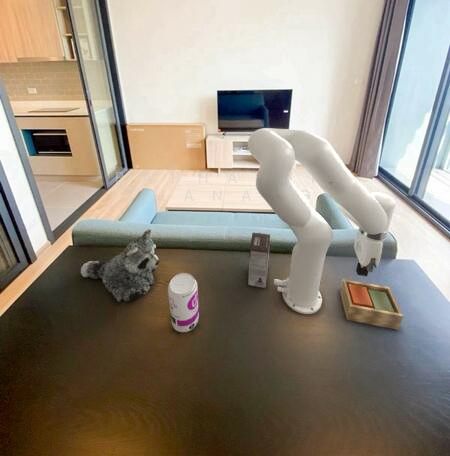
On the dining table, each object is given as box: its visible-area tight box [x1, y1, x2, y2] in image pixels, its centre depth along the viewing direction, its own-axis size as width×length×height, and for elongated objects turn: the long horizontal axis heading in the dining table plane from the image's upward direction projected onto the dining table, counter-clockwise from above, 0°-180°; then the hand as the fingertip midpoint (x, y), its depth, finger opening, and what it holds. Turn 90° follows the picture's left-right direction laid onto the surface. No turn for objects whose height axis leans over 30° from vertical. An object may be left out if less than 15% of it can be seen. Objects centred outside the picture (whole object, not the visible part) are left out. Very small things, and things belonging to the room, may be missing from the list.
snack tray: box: [339, 279, 404, 330], centre depth 76 cm, size 14×10×6 cm
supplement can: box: [167, 272, 200, 333], centre depth 71 cm, size 8×8×15 cm
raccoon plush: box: [80, 228, 160, 303], centre depth 82 cm, size 15×32×21 cm, turn 89°
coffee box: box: [247, 232, 271, 289], centre depth 86 cm, size 9×6×16 cm
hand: (361, 273), depth 84 cm, fingers closed
